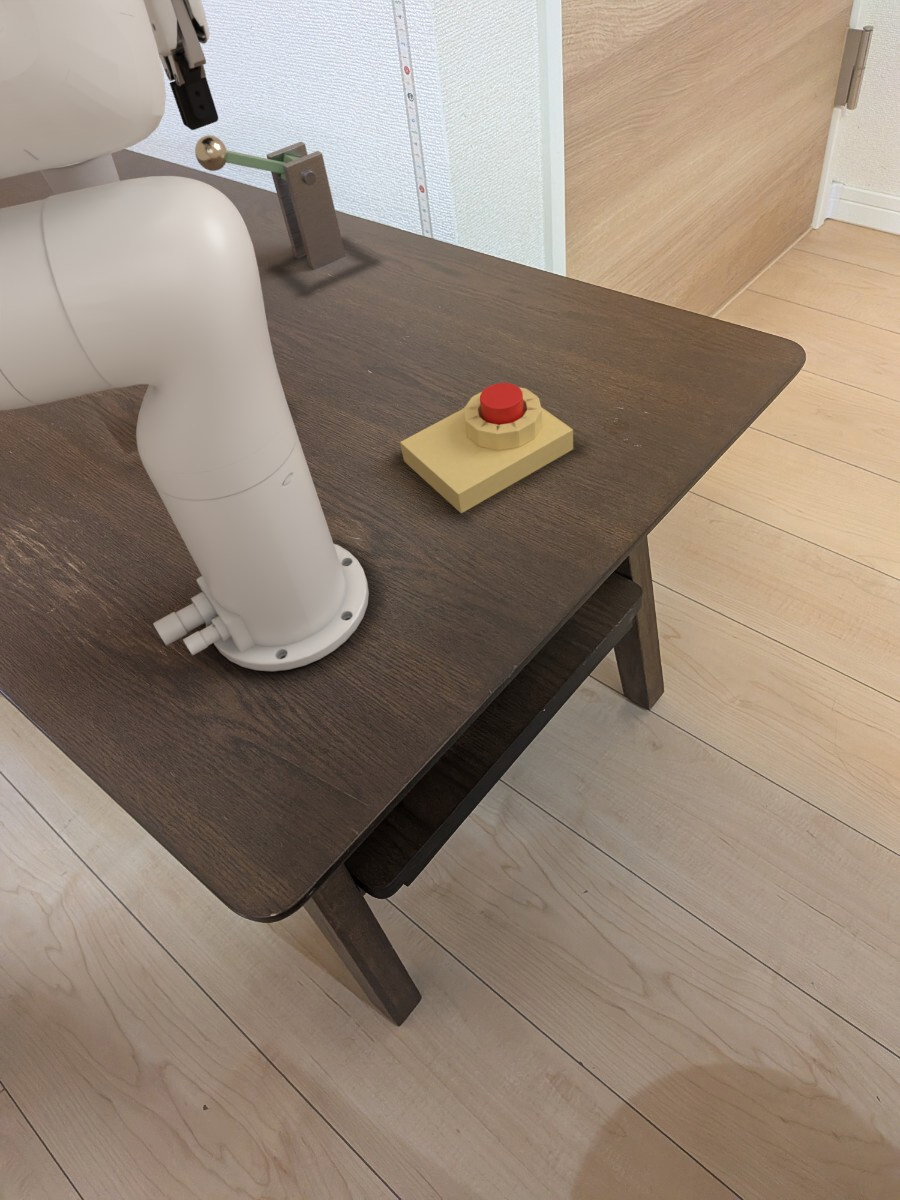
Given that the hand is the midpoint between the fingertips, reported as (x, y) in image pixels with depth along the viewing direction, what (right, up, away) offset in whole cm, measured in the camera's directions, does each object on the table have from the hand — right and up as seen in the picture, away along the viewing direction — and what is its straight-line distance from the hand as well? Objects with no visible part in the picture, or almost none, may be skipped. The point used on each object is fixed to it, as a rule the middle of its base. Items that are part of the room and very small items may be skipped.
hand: (201, 123), depth 82 cm
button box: (+28, -35, -10) cm, 46 cm away
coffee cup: (-19, -3, +25) cm, 32 cm away
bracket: (+10, -8, +16) cm, 20 cm away
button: (+29, -32, -12) cm, 45 cm away
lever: (+4, -3, +6) cm, 7 cm away
